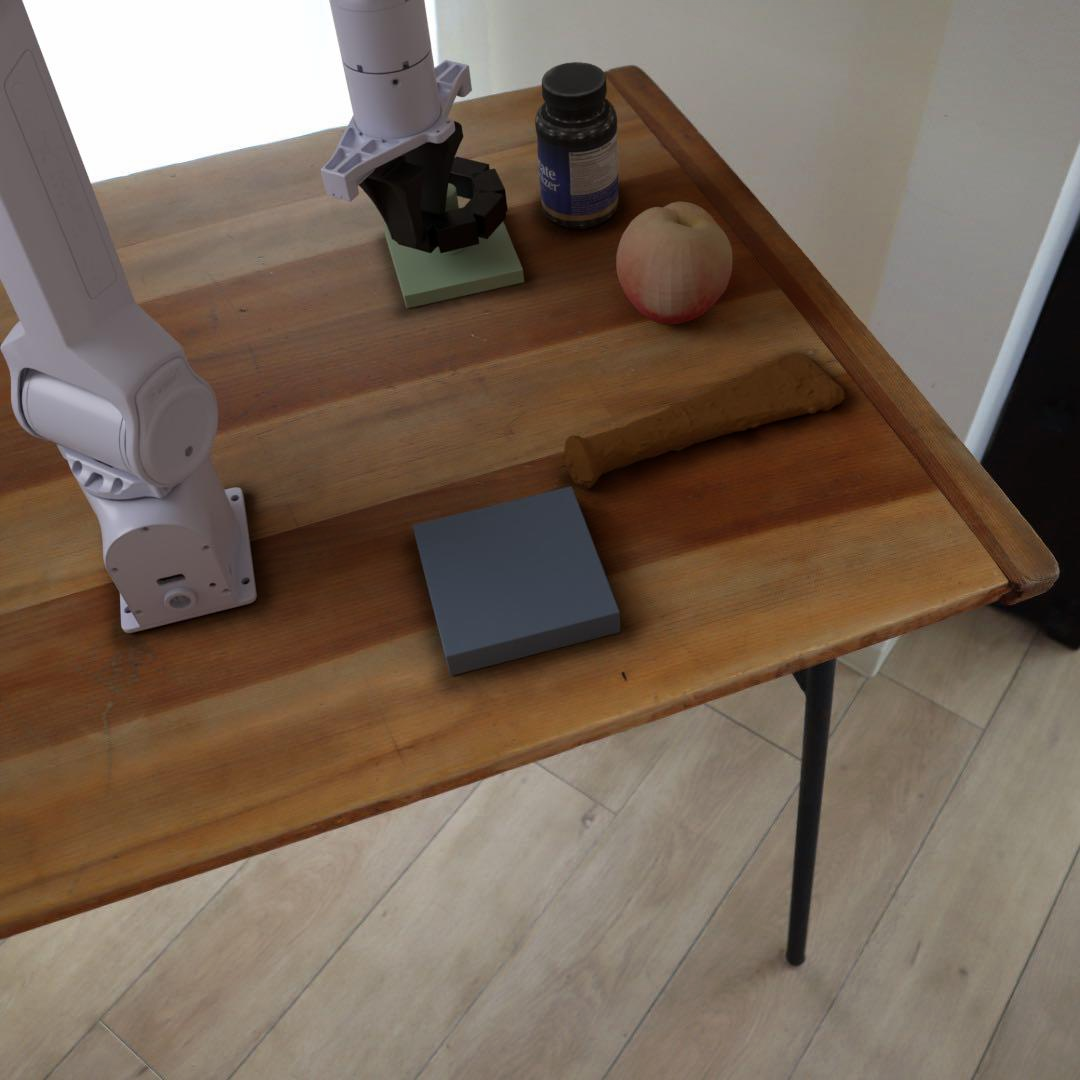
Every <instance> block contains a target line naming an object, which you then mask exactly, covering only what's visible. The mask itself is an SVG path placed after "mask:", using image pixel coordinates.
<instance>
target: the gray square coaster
mask: <svg viewBox="0 0 1080 1080" xmlns="http://www.w3.org/2000/svg"><path fill="white" fill-rule="evenodd" d="M412 530H413V534H414V538H415V542H416V546H417V550H418V554H419V558H420V562H421V567H422V570H423V574H424V578H425V582H426V586H427V590H428V595H429V597H430V601H431V606H432V610H433V613H434V618H435V622H436V625H437V630H438V634H439V638H440V642H441V646H442V649H443V653H444V658H445V661H446V665H447V669H448V673H449V676H450V677H451V676H457V675H461V674H464V673H468V672H472V671H475V670H479V669H483V668H488V667H491V666H494V665H499V664H502V663H506V662H510V661H514V660H518V659H522V658H527V657H531V656H533V655H538V654H542V653H545V652H549V651H553V650H556V649H561V648H563V647H565V648H566V647H568V646H573V645H577V644H579V643H583V642H587V641H591V640H595V639H600V638H603V637H606V636H611V635H615V634H618V633H621V611H620V609H619V607H618V604H617V602H616V598H615V596H614V593H613V590H612V588H611V585H610V583H609V581H608V577H607V574H606V571H605V570H604V567H603V564H602V561H601V559H600V556H599V553H598V551H597V548H596V546H595V543H594V540H593V538H592V535H591V533H590V530H589V527H588V525H587V522H586V519H585V517H584V514H583V511H582V509H581V506H580V504H579V500H578V498H577V496H576V493H575V490H574V488H573V486H572V485H571V486H566V487H563V488H562V487H561V488H557V489H555V490H554V489H553V490H550V491H546V492H541V493H537V494H534V495H529V496H526V497H522V498H516V499H513V500H509V501H505V502H500V503H497V504H492V505H488V506H485V507H480V508H477V509H476V508H475V509H471V510H468V511H464V512H461V513H456V514H452V515H448V516H444V517H439V518H435V519H431V520H427V521H422V522H419V523H415V524H412Z"/></svg>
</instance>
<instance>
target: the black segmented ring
mask: <svg viewBox="0 0 1080 1080" xmlns="http://www.w3.org/2000/svg"><path fill="white" fill-rule="evenodd" d="M449 183H450V184H452V185H454V186H455V187H456V191H457V197H459V198H464V199H467V200H468V202H467V203H466V204H465V205H464V206H463V207H459V208H458V209H454V210H450V211H446V212H442V213H438V214H435V213H431V212H427V211H423V210H421V213H422V222H423V241H422V244H421V245H420V246H419V247H418V248H414V247H411V246H407V245H404V244H401V243H398V244H399V245H402V246H406V247H409V248H413V249H417V250H420V251H424V252H427V253H432V252H433V251H434V250H435V249H436V248H437V246H438V248H439V251H440V253H445V252H449V251H453V250H457V249H461V248H465V247H469V246H473V245H477V244H479V237H480V238H483V239H488V238H489V237H490V236H491V235H492V233H493V232H494V231H495V230H496V229H497V228H498V227H499V225H500V224H501V223H502V222H504V221H505V220H506V219H507V212H508V211H509V209H508V201H507V200H508V199H507V194H506V188H505V185H504V184H503V181H502V180H501V178H500V175H499V174H498V171H497V170H496V168H490V164H489V163H486V162H481V161H477V160H474V159H469V158H465V157H462V156H461V157H460V156H457V155H455V158H454V161H453V165H452V168H451V173H450V177H449ZM388 230H389V229H388ZM389 233H390V231H389ZM390 236H391V238H392V240H394V239H393V237H392V235H391V233H390Z"/></svg>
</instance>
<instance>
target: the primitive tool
mask: <svg viewBox="0 0 1080 1080" xmlns="http://www.w3.org/2000/svg"><path fill="white" fill-rule="evenodd" d="M844 400H845V391H844V389H843V387H842V386H841V385H839V384H838V383H837V382H836V381H834V379H833V378H832V377H831V376H829V375H828V374H827V373H826V372H825V370H822V368H821V367H820V366H819V365H817V364H816V363H815V362H814V361H813V360H812V359H811V358H810V357H809V356H807V355H806V354H804V353H802V352H792V353H790V354H786V355H782V356H779V357H778V358H777V359H775V360H773V361H770V362H769V363H767V364H765V365H762V366H761V367H759V368H756V369H755V370H753V371H751V372H749V373H747V374H745V375H742V376H740V377H739V378H737V379H734V380H732V381H729V382H727V383H723V384H720V385H718V386H715V387H714V388H711V389H710V390H709V389H708V391H705V392H703V393H701V394H699V395H697V396H694V397H692V398H689V399H687V400H684V401H676V402H674V403H672V404H670V405H669V406H668V408H666V409H663V410H661V411H659V412H657V413H655V414H652V415H648V416H644V417H641V418H639V419H635V420H634V421H632V422H629V423H627V424H625V425H623V426H618V427H615V428H613V429H611V430H609V431H605V432H600V433H598V434H597V433H596V434H595V435H592V436H587V437H582V436H580V435H573V434H571V435H570V436H567V438H566V440H565V443H564V451H563V452H564V454H563V457H564V462H565V468H566V470H567V472H568V474H569V476H570V477H571V479H572V481H573V482H574V483H575V485H576V486H577V487H579V488H581V489H591V488H592V487H593V486H594V485H595V484H596V482H597V481H598V479H600V476H602V475H603V474H607V473H609V472H612V471H614V470H618V469H621V468H623V467H627V466H630V465H632V464H635V463H637V462H641V461H643V460H646V459H651V458H655V457H656V458H657V457H658V456H660V455H663V454H665V453H667V452H668V453H669V452H671V451H675V452H681V451H682V450H684V449H686V448H689V447H690V446H692V445H695V444H699V443H701V442H702V443H703V442H705V441H709V440H711V439H716V438H718V437H721V436H724V435H728V434H732V433H735V432H744V431H746V430H748V429H755V428H758V427H759V426H761V425H768V424H770V423H774V422H778V421H783V420H786V419H790V418H794V417H799V416H803V415H807V414H816V413H817V412H819V411H822V412H827V411H828V412H829V411H830V410H831V409H832V408H834V407H835V406H838V405H840V404H842V402H843V401H844Z"/></svg>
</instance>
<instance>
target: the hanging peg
mask: <svg viewBox="0 0 1080 1080" xmlns="http://www.w3.org/2000/svg"><path fill="white" fill-rule="evenodd" d="M458 208H460V205H459V199H458V196H457V191H456V187H455V186H454V185H452V184H450V183H448V190H447V198H446V207H445V212H446V211H450V210H454V209H458ZM383 231H384V235H385V240H386V244H387V246H388V250H389V253H390V256H391V261H392V264H393V267H394V270H395V274H396V277H397V280H398V284H399V287H400V290H401V294H402V298H403V301H404V304H405V308H406V309H412V308H416V307H420V306H425V305H430V304H433V303H438V302H442V301H446V300H451V299H455V298H460V297H465V296H469V295H474V294H478V293H482V292H487V291H492V290H497V289H500V288H505V287H509V286H510V287H511V286H513V285H518V284H523V283H525V275H524V269H523V266H522V264H521V261H520V258H519V257H518V254H517V252H516V249H515V247H514V244H513V241H512V240H511V239H512V238H511V237H510V234H509V232H508V229H507V227H506V224H505V222H504V221H503V222H502V223H501V224H500V225H499V227H498V228H497V229H496V230H495V231H494V232H493V233H492V235H491V236H490V237H489V238H488V239H483V238H480V237H479V244H477V245H473V246H469V247H465V248H461V249H457V250H453V251H449V252H445V253H440V251H439V248H438V246H437V248H436V249H435V250H434V251H433V252H432V253H427V252H424V251H420V250H417V249H413V248H409V247H406V246H402V245H399V244H398V242H395V241H394V240H392V238H391V236H390V233H389V230H388V227H387V225H384V226H383Z"/></svg>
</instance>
